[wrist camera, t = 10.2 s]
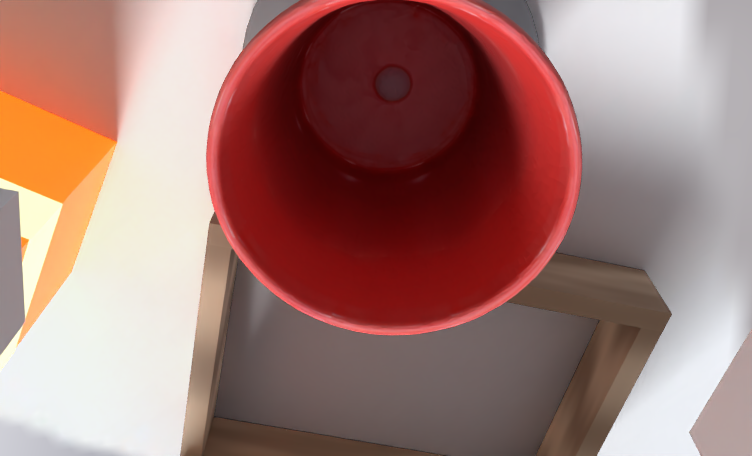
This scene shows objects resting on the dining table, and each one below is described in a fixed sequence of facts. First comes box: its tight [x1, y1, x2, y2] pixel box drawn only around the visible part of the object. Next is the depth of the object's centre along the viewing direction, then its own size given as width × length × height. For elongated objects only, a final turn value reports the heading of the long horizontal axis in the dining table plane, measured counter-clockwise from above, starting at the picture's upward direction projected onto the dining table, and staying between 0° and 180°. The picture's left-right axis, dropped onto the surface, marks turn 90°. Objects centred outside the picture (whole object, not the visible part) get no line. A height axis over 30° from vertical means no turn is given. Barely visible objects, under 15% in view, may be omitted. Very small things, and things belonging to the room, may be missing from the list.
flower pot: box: [206, 0, 582, 335], centre depth 24 cm, size 11×11×10 cm
